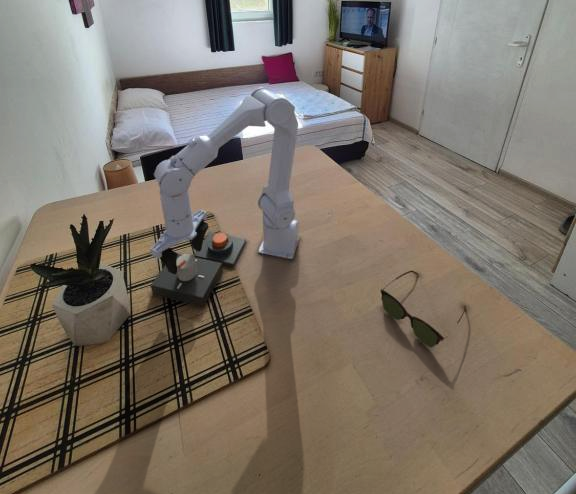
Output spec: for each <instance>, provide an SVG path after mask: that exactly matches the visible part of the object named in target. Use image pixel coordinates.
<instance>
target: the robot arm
mask: <svg viewBox="0 0 576 494" xmlns="http://www.w3.org/2000/svg"><path fill="white" fill-rule="evenodd" d="M295 111H296V107H295V105H294V104H292V103H291V102H290V101H289V100H288V99H287V98H284V97H282V96H280V95H278V94H276V93H274V92H272V90H270V89H269V88H266V87H257V88H255V89H254V90H253V91H252V92H251V93H250V94H249V95H246V96H245V97H244V98H243V100H242V101H241V102H240V105H238V107H237V108H236V109H235V110H234V111H233V112H231V114H229V116H227V117H226V118H225V119H224V120H223V121H222V122H220V124H219V125H218V126H216V127H215V128H214V129H213V130H212V131H211V132H210V133H209V134H208V135H198V136H197V137H195V138H191V139H190V140H189V141H187V143H188V145H186V146H185V147H183V148H182V149H181V150H179V152H178V153H176V154H175V155H172V156H171V157H169V158H168V159H164V160H162V161H161V162H159V164H157V166H156V168H155V170H154V172H153V176H154V178H155V180H156V182H157V185H158V187H159V196H160V203H161V209H162V215H163V219H164V225H165V230H164V232H163V233H162V234H161V235H160V237H159V238H158V240H157V241H156V243H155V244H154V245H152V246H151V247H150V254H151V257H153V258H155V259H157V260H160V261H161V262H162V263H163V264H164V267H165V266H166V267H167V269H168V271H169V272H171V273H172V274H174V275H175V274H176V273H177V256H178V254H179V253H178V252H176V251H174V250H173V248H171V247H173V246H176V245H178V244H180V243H182V242H184V241H186V240H189V241H190V242H191V246H192V249H193V250H195V251H199V252H200V251H201V249H202V243H203V241H204V240H205V237H206V234H207V231H208V230H209V224H208V222H206V220H207V219H208V214H207V211H205V210H203V209H199V210H197V211H196V212H194V213H193V211H192V203H191V198H190V192H189V189H190V186H191V184H192V180H193V179H195V176H196V175H197V174H199V172H201V171H202V170H203V169H204V168H206V167H207V166H208V165H209V164H210V163H212V162H213V161H214V160H215V159H216V158H217V157H218V154H219V149H220V148H221V147H223V146H224V145H225V144H226V143H228V142H229V141H230V140H232V139H233V138H235V137H236V136H237V135H239V134H240V133H241V132H243V131H244V130H246V129H247V128H248V127H260V128H261V127H262V128H265V127H266V122H267V123H268V124H269V125H270V126H272V127H273V139H272V147H271V156H270V164H269V171H268V180H267V181H268V182H267V185H264V186H263V187H262V190H261V193H260V196H259V197H258V200H257V206H258V208H259V209H260V210H261V211H262V240H261V241H262V242H261V244H260V245H259V248H258V251H257V252H258V253H259V254H263V255H268V256H272V257H273V256H274V257H278V258H283V259H288V260H293V259H294V256H295V254H296V250H297V247H298V244H299V241H300V238H299V227H300V225H299V220H296V219H295V217H296V210H295V209H294V208H295V207H294V205H295V201H294V198H293V196H292V194H291V190H290V185H291V177H292V171H293V164H294V157H295V150H296V144H297V137H298V130H299V121H298V118H297V116H296V113H295Z"/></svg>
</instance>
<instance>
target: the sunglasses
mask: <svg viewBox="0 0 576 494" xmlns="http://www.w3.org/2000/svg"><path fill="white" fill-rule="evenodd" d="M411 273H413V274H415V275H416V276H418V275H419V273H417V272H416V271H414V270H409V271H406V272H404V273H402V274H400V275H399V276H397V277H395V278H394V279H392V280H391V281H390V282H388V283H387V284H386V285H384V287H382V288H381V289H380V294H381V299H380V300H381V302H382V303H381V304H382V308H383V310H384V311H385V312H386V313H387V314H388V315H389V316H390V317H391V318H392V319H394V320H396V321H400V320H405V318H406V317H407V318H408V319H409V320H410V326H411V328H412V331H413V334H414V336H415V337H416V338H417V339H418V340H419V341H420V342H421V343H422V344H423V345H425V346H426V347H428V348H434V347H435V346H438V345H439V343H440V342H444V340H445V339H446V338H448V336H449V335H451V333H452V332H453V331H454V330H455V329H456V327H457V326H458V325H459V323H460V321H461V320H462V318H463V316H464V314H465V312H466V309H467V306H466V305H463V308H464V309H463V312H462V314H461V315H460V318H459V319H458V321H457V322H456V324H455V326H454V327H453V328H452V329H451V331H449V332H448V333H447V334H446V335H445V336H443V335H442V334H441V333H440V332H439V331H437V330H436V329H435V327H433V326H431V324H429V323H428V322H426V321H425V320H423V319H421V318H419V317H418V316H413V315H411V314H410V313H409V312H408V311H407V309H406V307H404V306H403V304H402V303H401V302H400V301H399V300H398V299H397V298H396V297H395V296H393V295H392V294H390V293H389V292H387V291H386V290H385V289H386V288H387V287H388V286H389V285H391V284H392V283H393V282H394V281H396V280H398V279H400V278H402V277H403V276H405V275H408V274H411Z"/></svg>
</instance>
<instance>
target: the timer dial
mask: <svg viewBox="0 0 576 494" xmlns="http://www.w3.org/2000/svg"><path fill="white" fill-rule="evenodd" d="M177 274H178V278H179V279H180V280H182V281H189V280H191V279H193V278H194V277H195V276H196V274H197V267H196V260H195V257H194V254H192V253H184V254H182V255H181V256H180V257H179V258H178V259H177Z"/></svg>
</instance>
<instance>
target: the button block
mask: <svg viewBox="0 0 576 494" xmlns="http://www.w3.org/2000/svg"><path fill="white" fill-rule="evenodd" d="M222 233H223V232H222ZM216 234H218V233H217V232H211V231H209V232H208V233H207V235H206V236H205V237H204V239H203V243H202V249H201V251H200V252H199V251H197V250H195V253H194V254H193V256H194V257H196V258H201V259H205V260H210V261H215V262H219V263H222V266H225V267H231V268H235V265H236V263H237V261H238V259H239V257H240V255H241V254H242V251H243V249H244V247H245V245H246V243H247V238H243V237H237V236H233V235H231V234H229V233H226V232H224V233H223V234H225V235H226V236H227V244H226V245H225V246H224V247H220V248H217V247H215V246H214V245H213V237H214V236H215V235H216Z"/></svg>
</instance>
